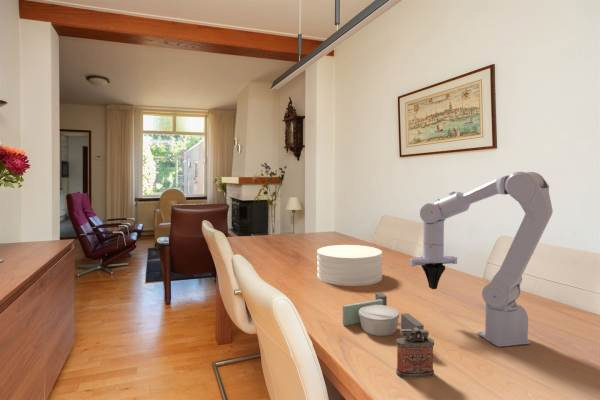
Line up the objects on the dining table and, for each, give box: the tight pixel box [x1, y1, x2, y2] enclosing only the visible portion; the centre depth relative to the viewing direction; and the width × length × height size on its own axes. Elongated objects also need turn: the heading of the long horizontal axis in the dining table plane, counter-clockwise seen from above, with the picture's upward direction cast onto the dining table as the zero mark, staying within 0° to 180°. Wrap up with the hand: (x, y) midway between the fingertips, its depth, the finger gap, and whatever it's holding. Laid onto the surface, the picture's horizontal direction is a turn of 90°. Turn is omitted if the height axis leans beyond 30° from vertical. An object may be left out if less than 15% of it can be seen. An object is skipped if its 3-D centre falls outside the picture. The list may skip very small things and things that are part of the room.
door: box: [342, 299, 383, 326], centre depth 106 cm, size 2×13×6 cm, turn 113°
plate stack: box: [316, 244, 383, 287], centre depth 155 cm, size 28×28×12 cm
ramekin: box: [359, 305, 400, 337], centre depth 100 cm, size 11×11×5 cm
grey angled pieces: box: [374, 292, 425, 338], centre depth 100 cm, size 2×26×6 cm, turn 10°
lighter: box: [395, 327, 435, 379], centre depth 77 cm, size 8×3×10 cm, turn 92°
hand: (432, 288), depth 107 cm, fingers closed
